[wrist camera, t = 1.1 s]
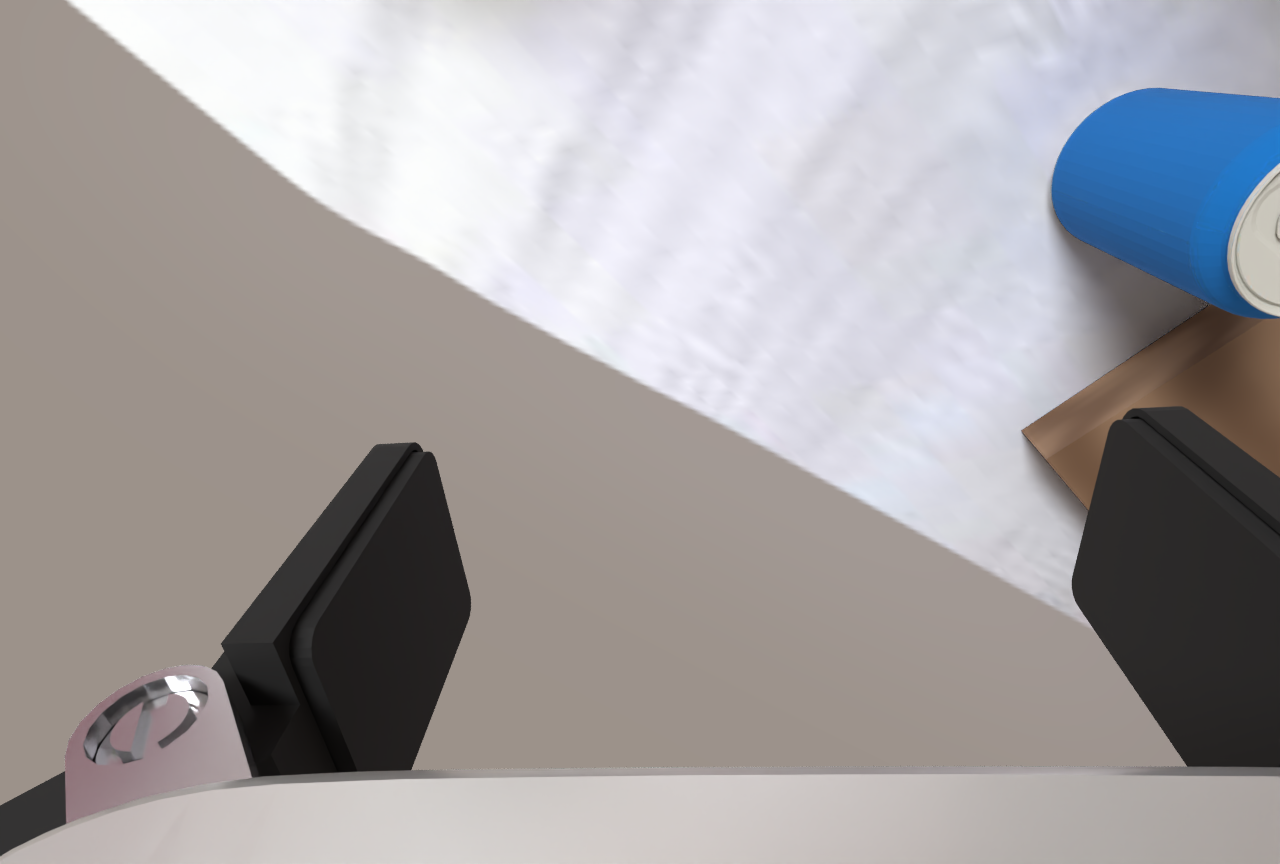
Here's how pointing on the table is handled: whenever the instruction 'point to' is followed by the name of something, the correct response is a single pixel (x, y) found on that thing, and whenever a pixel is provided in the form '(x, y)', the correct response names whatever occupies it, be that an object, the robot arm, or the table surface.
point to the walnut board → (1176, 394)
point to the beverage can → (1181, 192)
